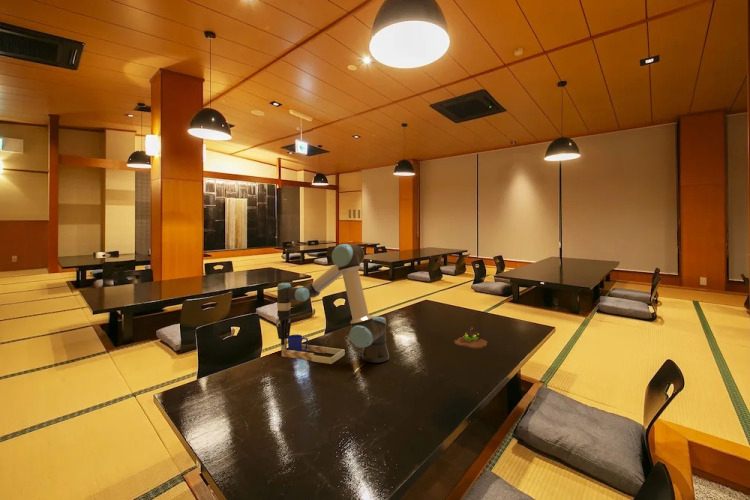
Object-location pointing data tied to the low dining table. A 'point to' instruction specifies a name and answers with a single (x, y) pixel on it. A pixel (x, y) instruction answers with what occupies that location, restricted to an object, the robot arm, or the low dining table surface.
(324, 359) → the tray
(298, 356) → the wooden serving tray
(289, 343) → the mug
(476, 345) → the plant
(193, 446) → the low dining table surface
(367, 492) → the low dining table surface
